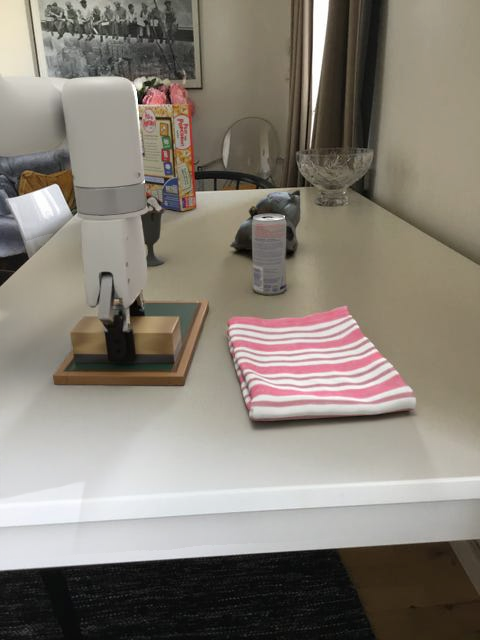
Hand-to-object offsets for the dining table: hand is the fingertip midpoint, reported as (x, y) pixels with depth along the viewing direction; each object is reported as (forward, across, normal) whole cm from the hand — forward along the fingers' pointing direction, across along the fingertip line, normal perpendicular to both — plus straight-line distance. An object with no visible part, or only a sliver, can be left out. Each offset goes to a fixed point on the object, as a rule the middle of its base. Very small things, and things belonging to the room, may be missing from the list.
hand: (128, 349), depth 68 cm
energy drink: (+2, -27, +16) cm, 31 cm away
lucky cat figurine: (+2, -51, +15) cm, 53 cm away
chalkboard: (+2, -6, 0) cm, 7 cm away
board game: (+2, -97, -15) cm, 99 cm away
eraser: (+1, 0, 0) cm, 1 cm away
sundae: (+2, -42, -7) cm, 43 cm away
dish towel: (+2, +1, +22) cm, 22 cm away
